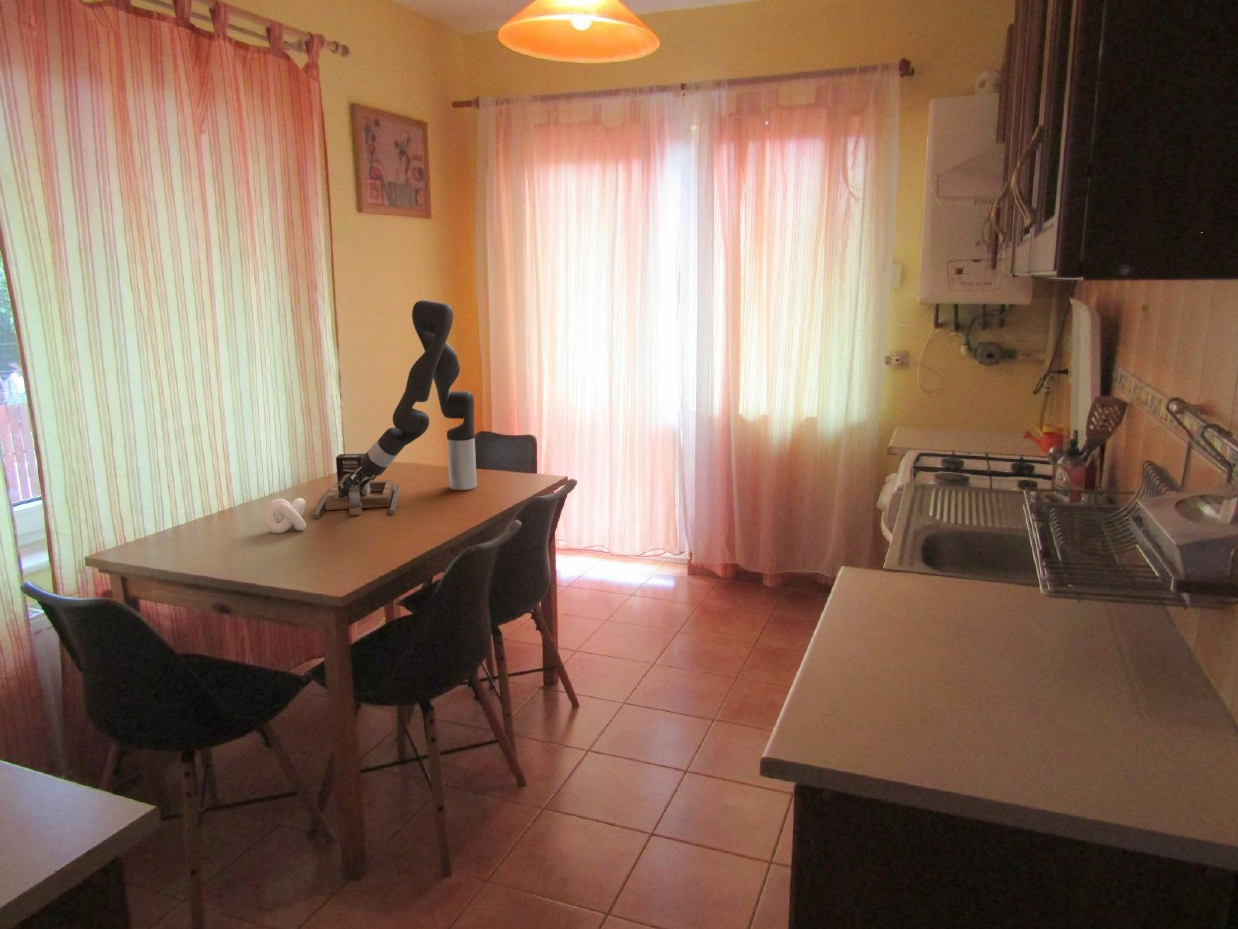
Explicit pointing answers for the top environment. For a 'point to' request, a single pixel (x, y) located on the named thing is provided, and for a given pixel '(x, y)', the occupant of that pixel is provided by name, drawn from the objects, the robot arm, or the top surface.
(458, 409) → the robot arm
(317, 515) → the guide rails
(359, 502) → the frame
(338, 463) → the coffee box
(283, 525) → the white knot sculpture
